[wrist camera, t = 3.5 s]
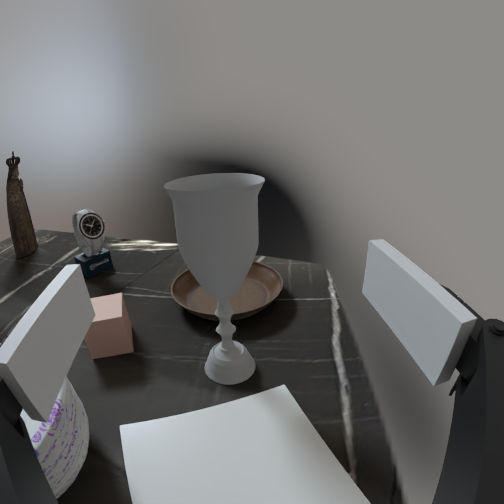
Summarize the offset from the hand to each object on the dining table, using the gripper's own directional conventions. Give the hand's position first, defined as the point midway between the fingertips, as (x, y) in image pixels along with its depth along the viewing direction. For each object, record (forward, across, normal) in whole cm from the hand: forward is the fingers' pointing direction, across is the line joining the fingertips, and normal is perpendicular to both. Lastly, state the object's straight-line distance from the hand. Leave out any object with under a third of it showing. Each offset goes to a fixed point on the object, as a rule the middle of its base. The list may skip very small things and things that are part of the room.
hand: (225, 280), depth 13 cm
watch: (+35, -24, -15) cm, 45 cm away
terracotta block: (+15, -14, -15) cm, 26 cm away
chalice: (+10, 0, -16) cm, 19 cm away
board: (-2, -1, -16) cm, 16 cm away
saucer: (+23, 0, -16) cm, 28 cm away
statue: (+49, -50, -15) cm, 72 cm away
